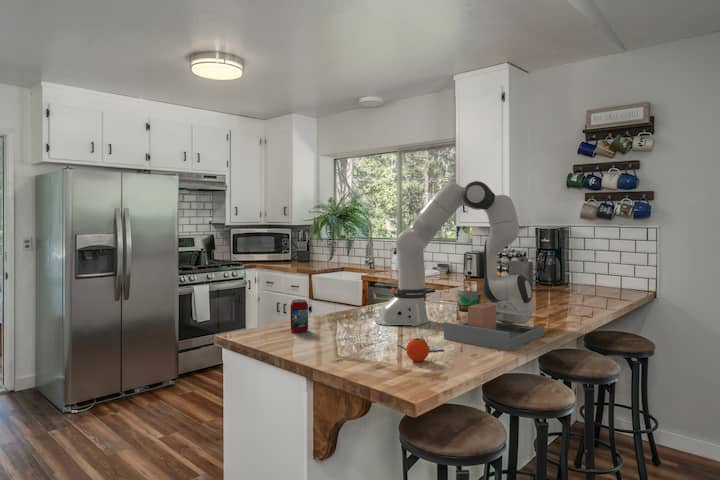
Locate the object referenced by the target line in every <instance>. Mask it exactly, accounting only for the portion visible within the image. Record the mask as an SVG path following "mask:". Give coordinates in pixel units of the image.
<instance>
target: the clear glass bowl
mask: <svg viewBox="0 0 720 480" xmlns="http://www.w3.org/2000/svg"><path fill="white" fill-rule="evenodd" d="M419 338H421V339H422V340H424V341H425V342H426V343H427V344H428V343H429V344H430V345H429V344H428V345H429V346H431V345H433V346H434V347H436V348H437V349H436V348H435V349H429V351H432V352H442V351H444V350H445V348H443V347H441V346H440V345H438V344H436V343H434V342H432V341H431V340H426V339H424V336H423V335H420V336H419ZM409 342H410V341H408V342H407V341H406V342H397V344H398V345H399V346H400V347H402V348H403V349H405V350H406V348H407V347H406V346H405V345H401V344H404V343H409ZM433 346H432V347H433ZM434 347H433V348H434ZM438 349H439V350H438Z"/></svg>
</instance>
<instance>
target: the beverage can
mask: <svg viewBox="0 0 720 480" xmlns="http://www.w3.org/2000/svg"><path fill="white" fill-rule="evenodd" d="M308 330H309V304H308V301H307V299H300V298H299V299H293V300H292V301H291V303H290V331H292V332H293V333H295V334H301V333H305V332H307V331H308Z"/></svg>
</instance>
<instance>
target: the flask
mask: <svg viewBox="0 0 720 480" xmlns="http://www.w3.org/2000/svg"><path fill="white" fill-rule="evenodd" d="M525 260H526V259H525V257H524V256H519V257H518V260H509V262H508V263H509V267H508V269H509V271H508V274H509V275H508V276H511V275H520V274H521V275H523V276H525V277H526V278H527V279H528V280H529V282H530V283H531V286H532V292H533V288H534V287H533V286H534V283H533V281H534V277H533V276H534V262H533V261H527V260H526V261H525Z"/></svg>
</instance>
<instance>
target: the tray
mask: <svg viewBox="0 0 720 480" xmlns="http://www.w3.org/2000/svg"><path fill="white" fill-rule="evenodd" d="M544 336H545V326H544V325H541V326H538V327H535V326H527V325H522V324H516V323H513V324H504V323H503V322H500V321H496V330H491V329H485V328H479V327H473V326H468V321H467V322H463V323H455V322H448V321H444V322H443V339H444V340H446V341H447V340H448V341H452V342H457V343H463V344H466V345H473V346H478V347H483V348H488V349H494V350H499V351H503V352H509V351H512V350H514V349H517V348H519V347H521V346H523V345H526V344H528V343H530V342H532V341H535V340H537V339H540V338H541V337H544Z"/></svg>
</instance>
